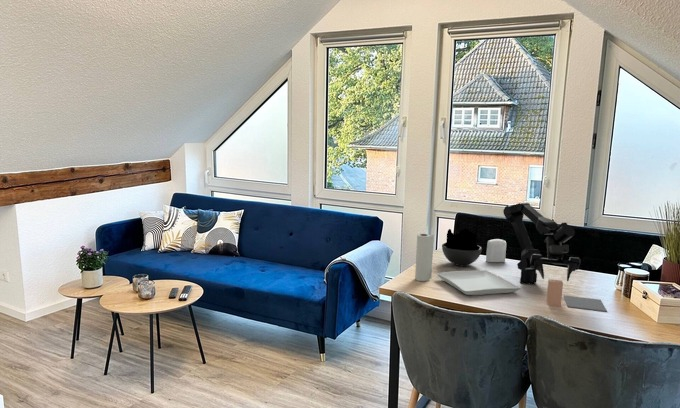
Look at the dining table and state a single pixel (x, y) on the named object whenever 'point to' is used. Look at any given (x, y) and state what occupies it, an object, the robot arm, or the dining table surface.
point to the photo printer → (496, 250)
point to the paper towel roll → (424, 257)
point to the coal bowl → (461, 247)
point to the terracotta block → (554, 292)
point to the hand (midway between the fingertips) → (555, 279)
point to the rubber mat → (584, 303)
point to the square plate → (478, 282)
